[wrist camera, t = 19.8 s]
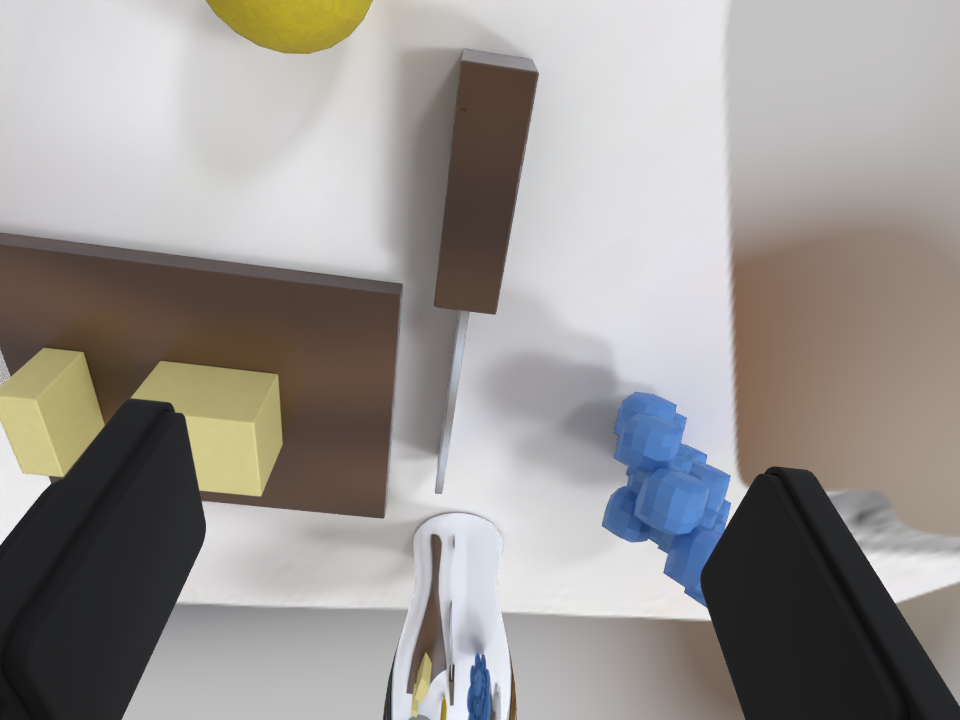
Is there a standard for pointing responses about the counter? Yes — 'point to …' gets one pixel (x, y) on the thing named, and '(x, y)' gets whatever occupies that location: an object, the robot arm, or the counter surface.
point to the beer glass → (453, 628)
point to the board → (225, 350)
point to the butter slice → (50, 411)
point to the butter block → (223, 421)
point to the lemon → (292, 22)
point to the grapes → (666, 490)
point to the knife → (480, 197)
